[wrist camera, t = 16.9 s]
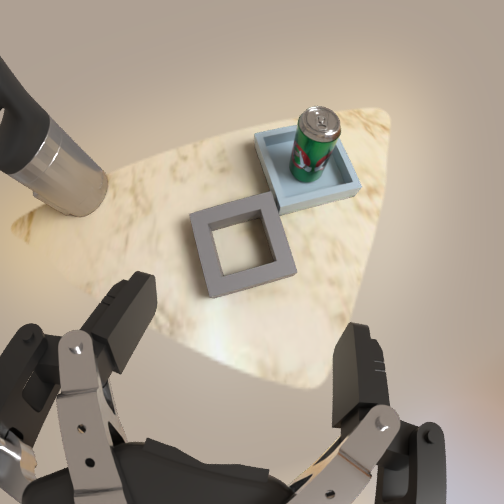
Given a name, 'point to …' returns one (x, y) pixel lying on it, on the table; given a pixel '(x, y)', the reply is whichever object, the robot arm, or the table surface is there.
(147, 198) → the table surface
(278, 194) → the parts tray
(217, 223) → the socket block
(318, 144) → the soda can
